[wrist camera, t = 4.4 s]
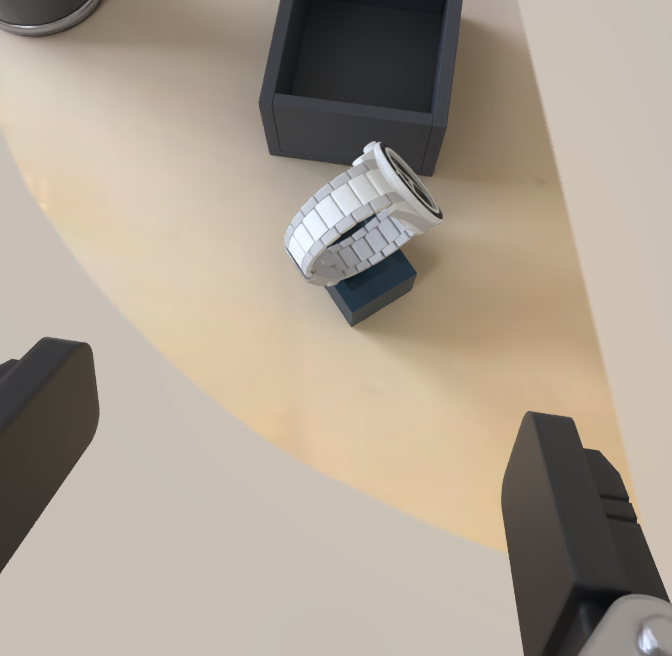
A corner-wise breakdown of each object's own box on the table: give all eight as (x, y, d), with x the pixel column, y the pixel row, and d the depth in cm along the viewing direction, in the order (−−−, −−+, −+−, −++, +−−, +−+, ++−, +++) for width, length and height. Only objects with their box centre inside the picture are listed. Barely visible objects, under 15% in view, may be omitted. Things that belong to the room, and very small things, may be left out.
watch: (437, 274, 38) (474, 191, 27) (326, 342, 37) (320, 284, 26) (387, 203, 39) (404, 97, 28) (278, 267, 38) (253, 182, 27)
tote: (269, 154, 40) (257, 103, 35) (302, -7, 43) (296, -77, 38) (432, 177, 40) (446, 127, 34) (453, 12, 43) (469, -57, 37)
